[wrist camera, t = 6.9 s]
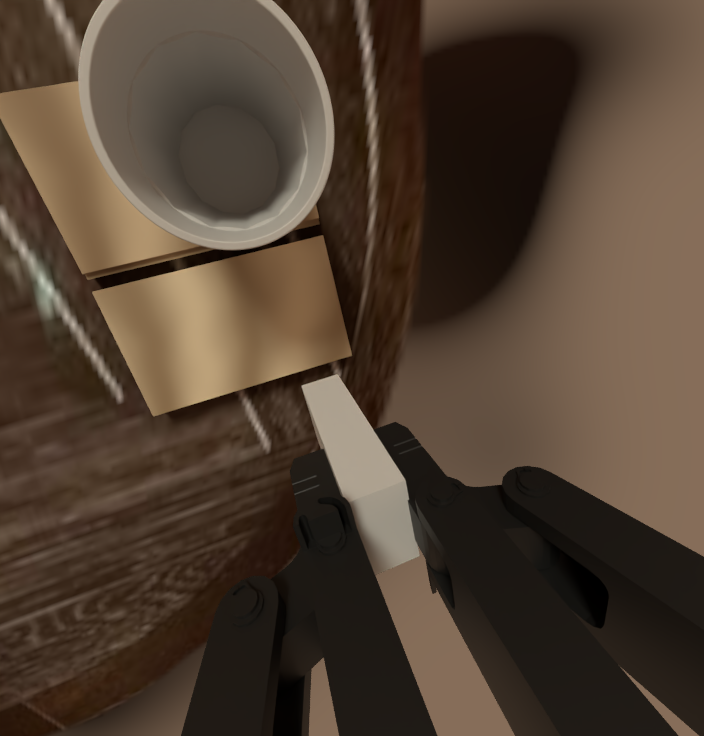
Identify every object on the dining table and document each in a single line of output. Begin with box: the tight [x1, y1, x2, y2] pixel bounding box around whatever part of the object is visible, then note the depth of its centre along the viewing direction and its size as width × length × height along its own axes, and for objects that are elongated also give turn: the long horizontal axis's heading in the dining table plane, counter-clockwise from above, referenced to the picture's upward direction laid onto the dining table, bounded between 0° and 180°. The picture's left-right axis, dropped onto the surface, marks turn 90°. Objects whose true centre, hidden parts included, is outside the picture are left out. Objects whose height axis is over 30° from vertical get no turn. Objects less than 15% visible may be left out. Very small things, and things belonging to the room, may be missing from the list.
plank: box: [92, 235, 352, 416], centre depth 26 cm, size 15×9×1 cm, turn 102°
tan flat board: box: [0, 81, 320, 280], centre depth 22 cm, size 15×9×1 cm, turn 102°
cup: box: [78, 0, 334, 250], centre depth 17 cm, size 8×8×12 cm
